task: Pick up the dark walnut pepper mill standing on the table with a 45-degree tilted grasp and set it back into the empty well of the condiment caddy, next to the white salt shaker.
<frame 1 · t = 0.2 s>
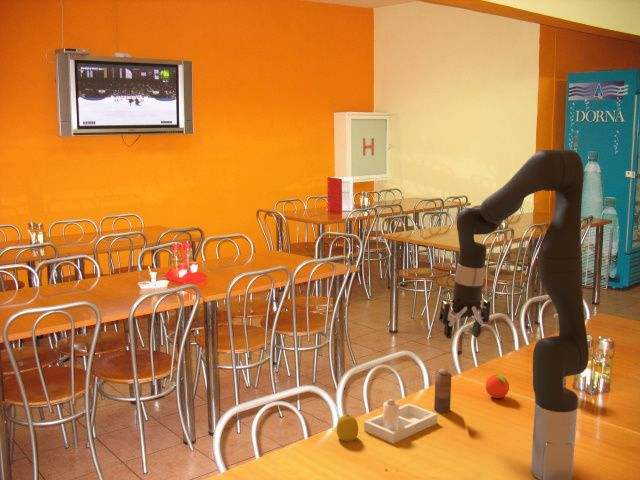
hand: (461, 336, 189), 23 cm above the table, tool pointing down, fingers open, 8 cm apart
clementine: (497, 398, 206), on the table
salt shaker: (390, 431, 179), point 2 cm above the table, touching caddy
pepper mill: (441, 415, 193), on the table
lemon: (347, 444, 175), on the table
caddy: (400, 432, 182), on the table
french press: (553, 392, 211), on the table
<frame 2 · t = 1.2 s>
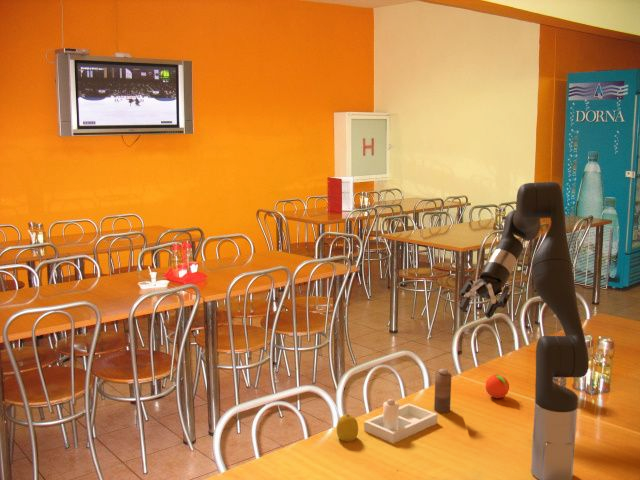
hand: (474, 313, 195), 28 cm above the table, tool tilted 45°, fingers open, 8 cm apart
nothing on the table moved.
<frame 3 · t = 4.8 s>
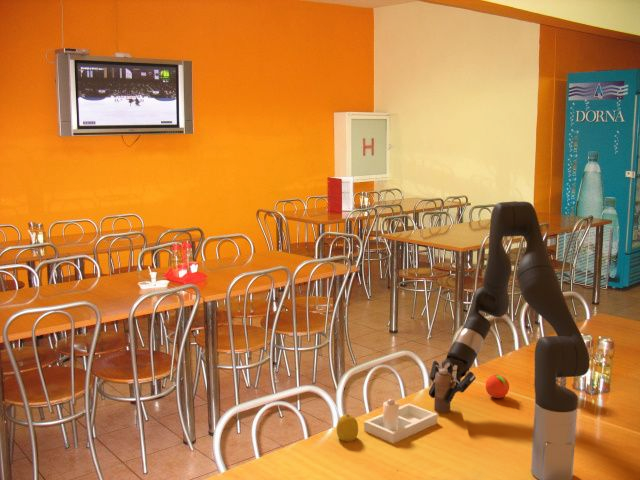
hand: (438, 398, 191), 5 cm above the table, tool tilted 45°, fingers closed on pepper mill, 4 cm apart
pepper mill: (442, 415, 193), on the table, touching gripper
everything else where it was.
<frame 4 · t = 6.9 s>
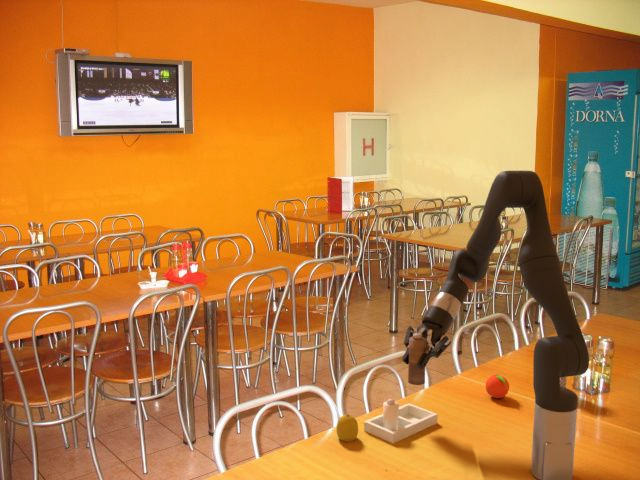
hand: (412, 364, 182), 18 cm above the table, tool tilted 45°, fingers closed on pepper mill, 4 cm apart
pepper mill: (416, 382, 184), point 12 cm above the table, touching gripper
everything else where it was.
when the fingers open (8 cm above the table, at t = 9.3 s): pepper mill drops 1 cm, resting on caddy.
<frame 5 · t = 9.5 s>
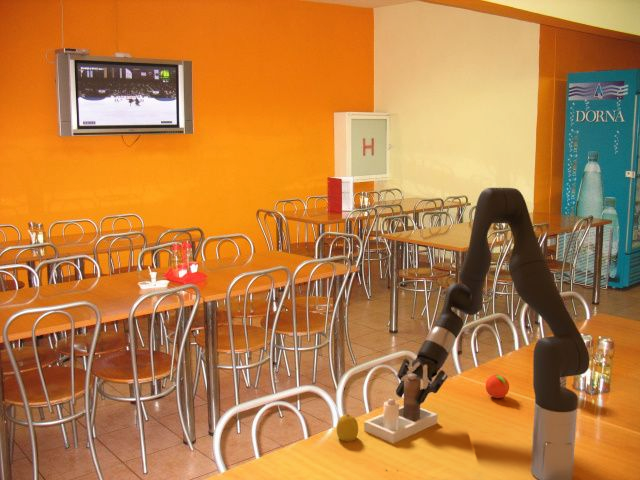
hand: (408, 399, 183), 8 cm above the table, tool tilted 45°, fingers open, 6 cm apart
pepper mill: (411, 421, 185), point 2 cm above the table, touching caddy
everything else where it was.
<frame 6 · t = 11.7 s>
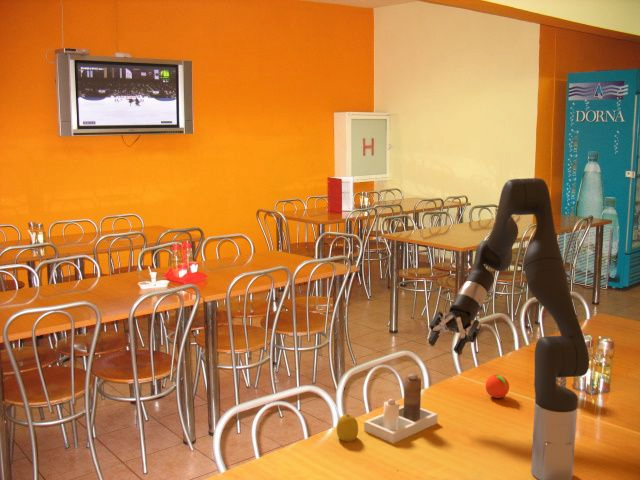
hand: (443, 348, 190), 20 cm above the table, tool tilted 45°, fingers open, 8 cm apart
nothing on the table moved.
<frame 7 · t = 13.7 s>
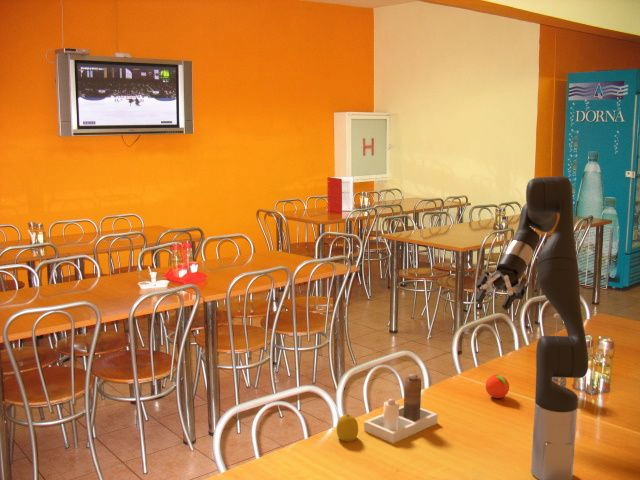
hand: (491, 305, 192), 31 cm above the table, tool tilted 45°, fingers open, 8 cm apart
nothing on the table moved.
at the end: pepper mill 0.1 cm from the target spot on the caddy, point 1.5 cm above the caddy's base; pepper mill tilted 0°; the gripper is holding nothing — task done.
